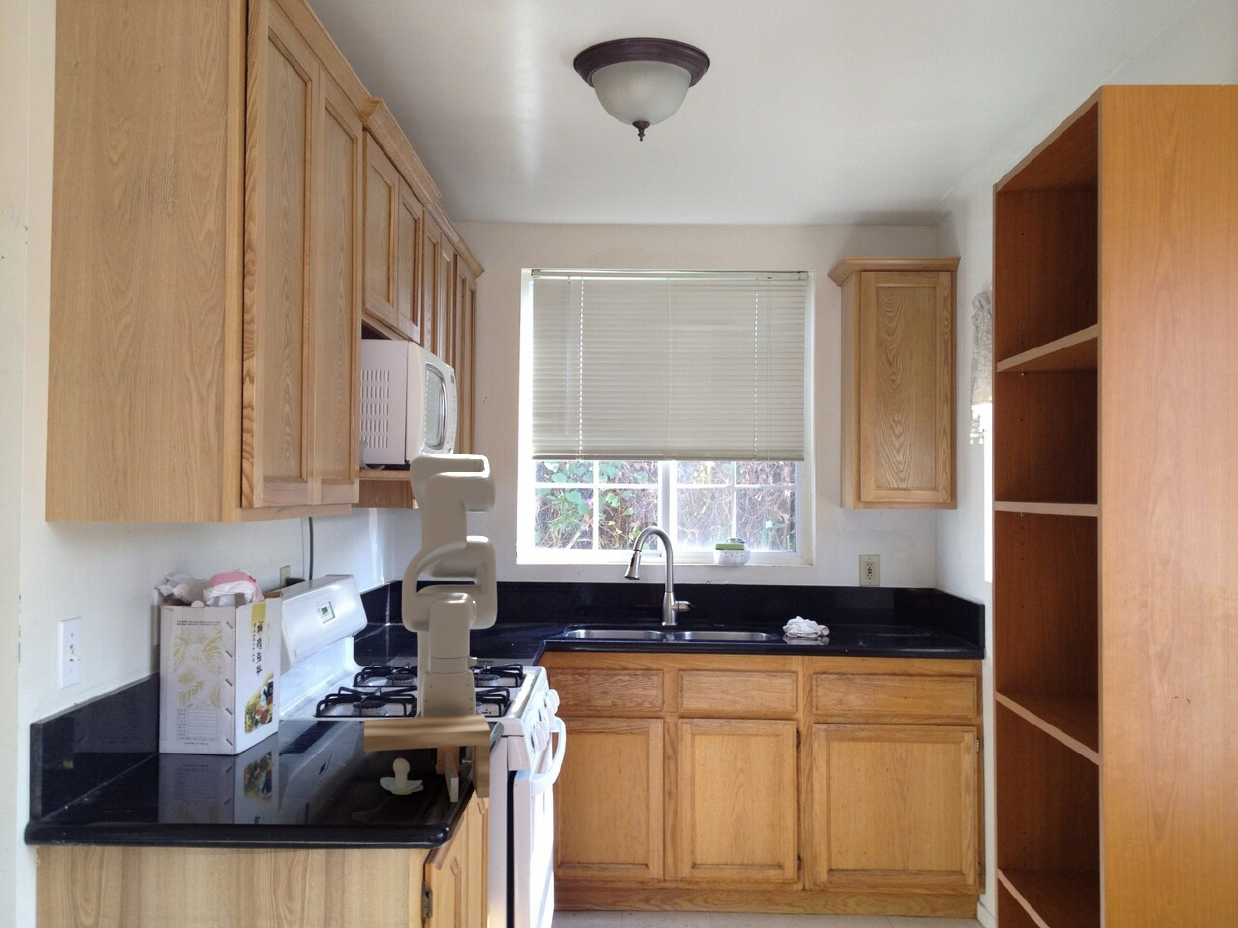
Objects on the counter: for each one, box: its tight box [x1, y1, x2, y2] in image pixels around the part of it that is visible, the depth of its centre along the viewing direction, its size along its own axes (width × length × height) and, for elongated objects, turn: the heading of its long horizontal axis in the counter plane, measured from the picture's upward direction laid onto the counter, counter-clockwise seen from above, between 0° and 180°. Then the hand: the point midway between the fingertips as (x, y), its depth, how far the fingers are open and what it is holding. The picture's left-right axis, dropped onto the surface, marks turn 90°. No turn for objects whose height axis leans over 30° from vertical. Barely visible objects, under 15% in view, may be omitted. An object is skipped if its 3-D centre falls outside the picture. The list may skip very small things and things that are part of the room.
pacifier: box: [380, 757, 424, 796], centre depth 166 cm, size 7×6×6 cm
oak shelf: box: [363, 714, 491, 799], centre depth 166 cm, size 11×21×12 cm, turn 104°
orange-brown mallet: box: [435, 746, 460, 803], centre depth 170 cm, size 20×4×9 cm, turn 14°
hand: (447, 761), depth 178 cm, fingers closed on orange-brown mallet, 4 cm apart
